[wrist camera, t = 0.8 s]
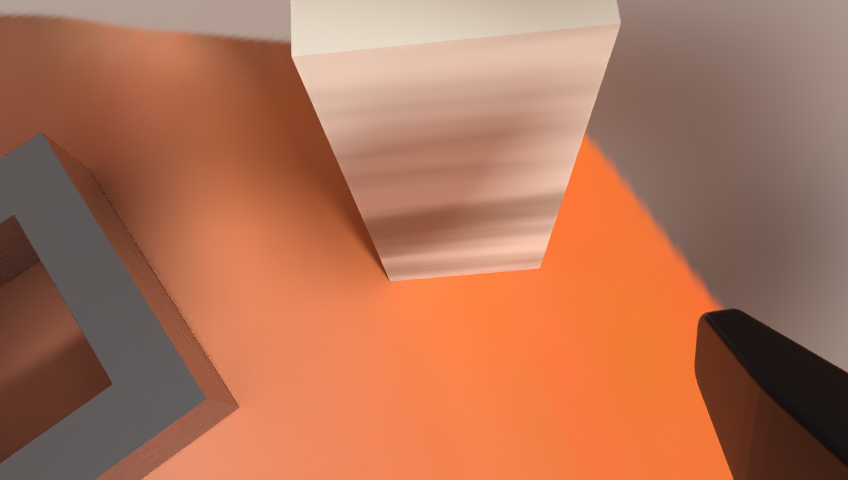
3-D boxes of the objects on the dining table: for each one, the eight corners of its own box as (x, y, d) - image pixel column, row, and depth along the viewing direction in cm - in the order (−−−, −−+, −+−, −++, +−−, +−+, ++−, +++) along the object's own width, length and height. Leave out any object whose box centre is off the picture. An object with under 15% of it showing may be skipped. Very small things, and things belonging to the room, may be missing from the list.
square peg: (539, 268, 24) (620, 23, 11) (390, 281, 25) (290, 56, 11) (522, 132, 26) (575, -229, 13) (381, 145, 26) (286, -196, 13)
